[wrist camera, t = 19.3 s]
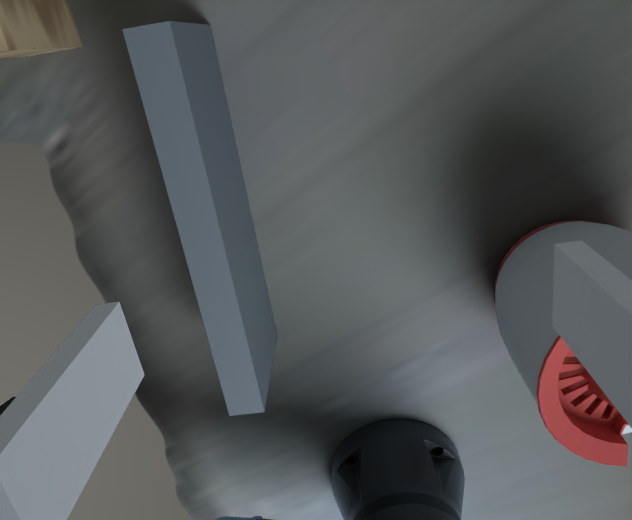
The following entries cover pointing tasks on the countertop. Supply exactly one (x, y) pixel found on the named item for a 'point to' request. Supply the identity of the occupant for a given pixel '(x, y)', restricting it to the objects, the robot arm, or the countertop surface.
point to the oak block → (36, 27)
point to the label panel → (208, 201)
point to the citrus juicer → (560, 339)
